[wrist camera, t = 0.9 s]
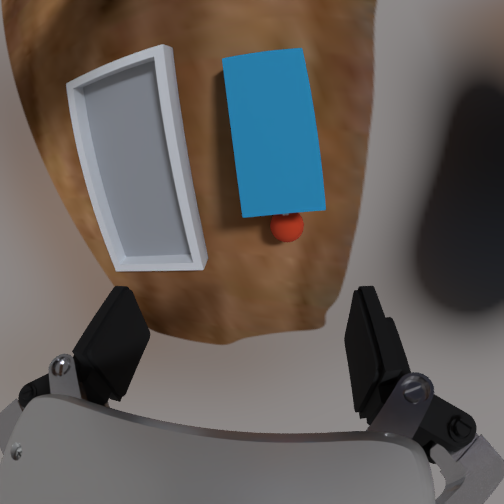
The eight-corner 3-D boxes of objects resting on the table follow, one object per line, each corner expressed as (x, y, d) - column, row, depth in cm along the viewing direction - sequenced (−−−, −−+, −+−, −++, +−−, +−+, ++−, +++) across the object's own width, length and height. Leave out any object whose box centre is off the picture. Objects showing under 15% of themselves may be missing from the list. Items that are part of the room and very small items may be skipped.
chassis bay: (79, 82, 22) (65, 83, 20) (172, 47, 20) (163, 44, 18) (124, 260, 34) (116, 271, 32) (208, 258, 32) (203, 269, 30)
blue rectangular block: (236, 82, 26) (257, 240, 30) (221, 58, 19) (248, 260, 24) (299, 74, 25) (320, 235, 29) (302, 47, 18) (328, 253, 23)
